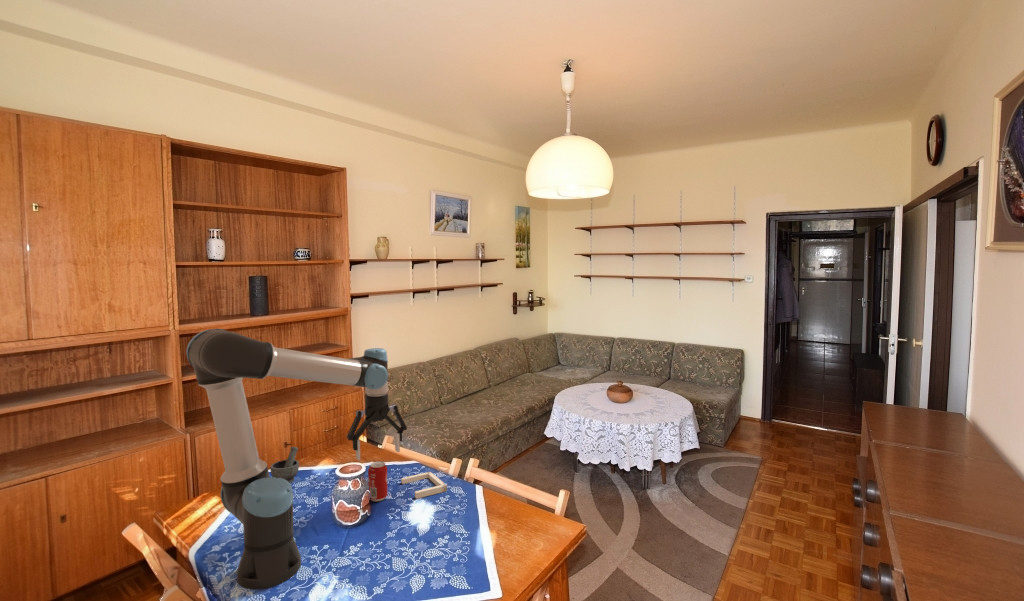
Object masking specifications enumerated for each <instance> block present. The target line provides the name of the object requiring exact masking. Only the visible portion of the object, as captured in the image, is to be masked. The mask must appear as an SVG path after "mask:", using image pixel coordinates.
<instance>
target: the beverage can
mask: <svg viewBox="0 0 1024 601" xmlns="http://www.w3.org/2000/svg"><path fill="white" fill-rule="evenodd" d="M367 474H368V475H367V480H368V482H367V483H368V484H367V486H369V490H370V495H371V499H370V500H371V501H372V502H382V501H384V500H385V499H386V498H387V496H388V466H387V465H386V462H385V461H374V462H372V463H370V464H369V466H368V469H367Z"/></svg>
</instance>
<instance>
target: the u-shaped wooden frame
mask: <svg viewBox="0 0 1024 601" xmlns="http://www.w3.org/2000/svg"><path fill="white" fill-rule="evenodd" d="M425 478H426V479H429V480H430V481H431V482H432V483H433V484H434V485H435V486H432V487H429V488H428V487H427V488H424V489H420V490H415V491H414V497H415V499H416V500H417V499H422V498H425V497H429V496H432V495H433V496H434V495H436V494H441V493H444V492H448V485H447V484H446V483H445V482H444V481H442V480H441V479H440V478H438V476H436V475H435V474H434V473H432V471H428V472H427V471H426V472H423V473H419V474H415V475H409V476H405V477H402V478H401V480H400V481H401V484H402V485H406V484H409V482H410V483H414V482H417V480H418V481H421V480H422V481H423V480H424V479H425ZM413 481H414V482H413ZM405 483H406V484H405Z"/></svg>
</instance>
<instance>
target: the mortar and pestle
mask: <svg viewBox="0 0 1024 601" xmlns="http://www.w3.org/2000/svg"><path fill="white" fill-rule="evenodd" d="M298 450H299V448H298V447H296V446H291V447H290V451H289V453H288V456H287V458H286V459H283V460H278V461H276V462H274V463H272V464H271V465H270V466H269V467H270V474H271V477H275V478H282V479H285V480H287V481H288V482H289V483H290V484H292V483H293V482H294V481H295V477H296V476H297V474H298V472H299V468H300V460H297V459H296V456H297V453H298Z"/></svg>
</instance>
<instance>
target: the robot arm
mask: <svg viewBox="0 0 1024 601" xmlns="http://www.w3.org/2000/svg"><path fill="white" fill-rule="evenodd" d="M185 351H186V352H185V354H186V358H187V361H188V363H189V364H190V366H192V367H193V371H194V374H195V379H196V382H197V385H198V386H199V387H202V388H204V389H205V391H206V394H207V398H208V402H209V407H210V411H211V416H212V419H213V424H214V428H215V433H216V437H217V441H218V446H219V450H220V454H221V459H222V462H223V465H224V471H223V473H222V474H221V475H220V478H219V479H220V482H221V488H220V500H221V502H222V506H223V507H224V508H225V510H227V512H229V513H230V514H232V515H233V516H234V517H235V518H236V519H237V520H238V521H239V522H240V523H241V524H242V525H243V547H244V548H243V552H242V555H241V557H240V561H239V564H238V567H237V570H236V579H237V580H236V581H237V584H238V585H239V586H240V587H241V588H243V589H246V590H257V591H258V590H264V589H269V588H270V589H271V588H273V587H276V586H279V585H282V584H283V583H285V582H287V581H289V579H291V578H293V577H294V576H295V575H297V573H298V571H299V570H300V568H301V565H302V557H301V553H300V551H299V548H298V546H297V543H296V541H295V538H294V493H293V487H292V483H289V482H288V481H287V480H285V479H282V478H275V477H273V476H270V472H269V468H268V464H267V461H266V460H265V461H264V460H262V459H260V455H259V451H258V446H257V443H256V442H257V441H256V438H255V433H254V427H253V424H252V419H251V415H250V410H249V406H248V402H247V397H246V393H245V388H244V384H243V379H245V378H246V379H259V380H264V379H265V378H267V377H276V378H284V379H291V380H301V381H310V382H311V381H313V382H318V383H327V384H328V383H330V384H336V385H345V386H354V387H362V388H364V390H365V392H364V393H365V398H364V399H365V408H364V410H359V409H357V410H355V416H354V419H353V422H352V424H351V426H350V428H349V430H348V432H347V434H346V438H347V440H348V441H351V442H352V449H353V451H354V452H355V458H356V460H357V461H361V440H360V437H361V436H362V435H363V434H364V432H365V431H366V429H367V427H368V426H369V425H370V424H372V422H373V423H375V422H381V421H384V420H386V421H387V422H388V424H390V425H391V426H392V427H393V428H394V429H395V430H396V431H394V449H395V451H396V452H397V453H400V452H401V449H400V448H401V446H400V444H401V442H402V441H403V433H404V431H407V430H408V427H407V425H406V422H405V421H404V419H403V418H402V416H401V413H400V412H399V407H398V405H396V404H394V403H393V404H392V405H390V406H389V394H388V392H389V382H388V380H389V379H388V377H389V372H388V370H389V369H388V368H389V367H388V353H387V352H388V351H387V350H386V349H385V348H383V347H373V348H366V349H365V350H364V352H363V356H358V357H350V358H345V357H344V358H343V357H337V356H330V355H325V354H324V355H323V354H319V353H312V352H307V351H305V352H304V351H299V350H293V349H288V348H281V347H276V346H274V344H273V343H272V342H268V341H263V340H258V339H256V338H251V337H248V336H246V335H243V334H240V333H238V332H234V331H229V330H226V329H222V328H212V329H211V328H210V329H205V330H202V331H200V332H198V333H196V334H195V335H194V336H193V337H192V338H191V339H190V341H188V344H187V346H186V350H185ZM390 411H391V412H392V413H393V414H394V416H395V418H396V420H397V422H398V424H399V425H400V426H399V425H398V424H397V423H396V422H395V421H394V420H393V419H392V418H391V417H390V416H389V415H388V414H389V412H390ZM364 415H365V416H366V417H365V418H364V419H363V422H362V423H361V424H360V422H361V420H362V418H363V416H364ZM359 424H360V426H359ZM358 426H359V427H358Z"/></svg>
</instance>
